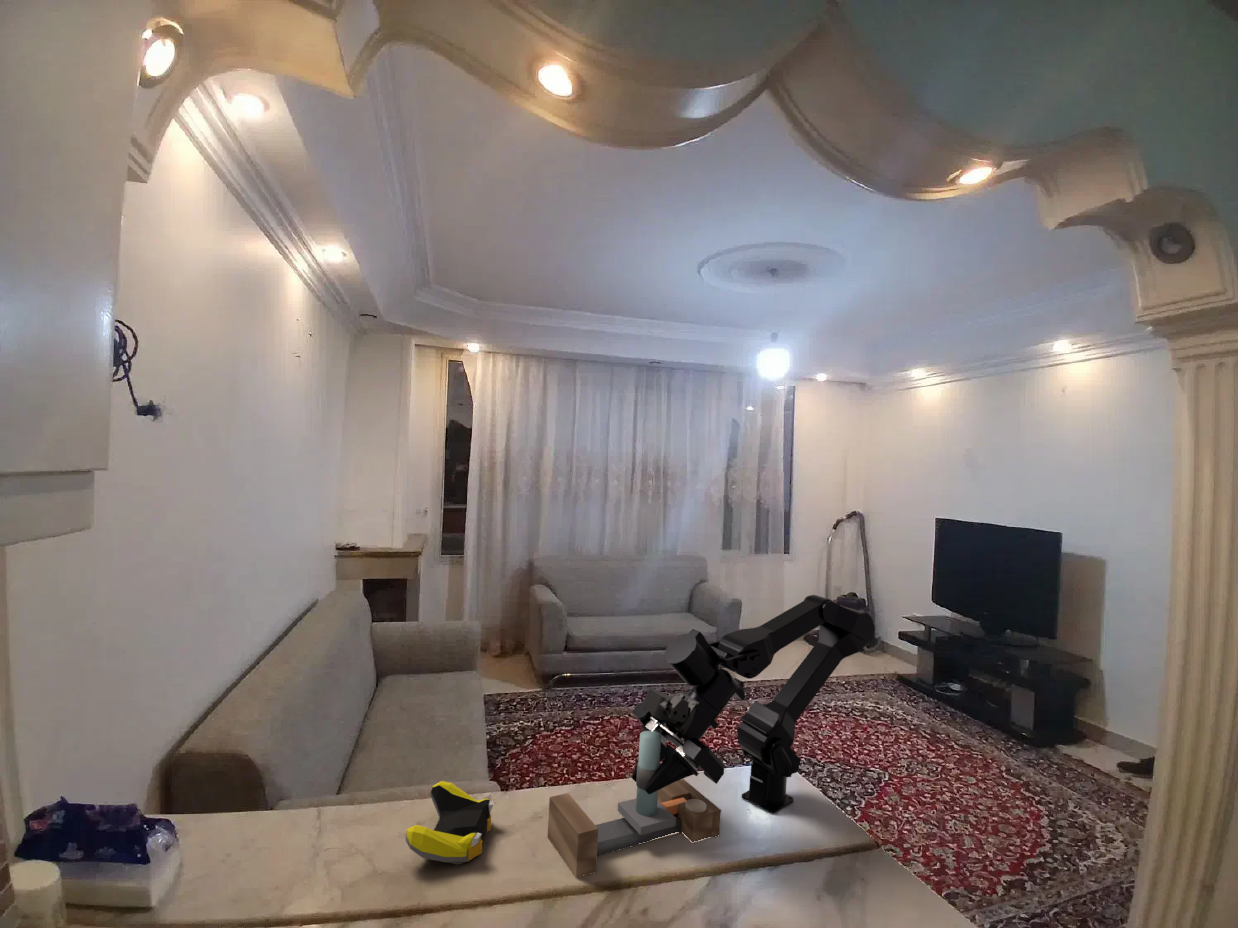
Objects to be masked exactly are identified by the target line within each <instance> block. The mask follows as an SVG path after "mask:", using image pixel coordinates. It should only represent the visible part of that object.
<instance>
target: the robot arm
mask: <svg viewBox="0 0 1238 928" xmlns="http://www.w3.org/2000/svg"><path fill="white" fill-rule="evenodd" d="M817 628H819V629H818V630H819V631H818V641H817V642H816V643H815V644H814V646H813V647H812V648H811V649H810V651H809V653H808V654H807V655H806V656H805V658H804V659H803V660H802V661H801V663H800V664H799V665H798V667H797V668H796V669H795V670H794V672H793V673H792V674H791V676H790V677H789V678H788V680H786V682H785V684H784V685H783V686H782V687H781V689H780V690H779V691H778V693H776V695H775V697H773V699H772V700H771V701H770V702H768V703H765V704H762V703H760V702H759V701H754V702H753V703H752V704H751V706H750V707H749V709H748V711H747V712H746V713H745V714H743V716H741V717H740V720H741V721H740V723H739V724H738V727H737V729H736V732H737V737H736V738H737V743H738V745H739V747H740V748H741V752H742V755H743V756H744V757H746V758H748V759H750V760H751V761H752V763H751V764H750V776H749V787H748V788H749V789H748V790H747V791H745V792H743V793H742V794H741V799H743V800H744V801H747V802H749V803H751V804H752V805H755V806H756V807H759V808H761V809H763V810H764V811H766V812H768V813H770V814H776V813H777V812H779V811H781V810H782V809H784V808H786V807H787V806H789V805H790V804H792V803H794V799H795V798H794V797H792V796H790V795H788V794H787V779H788V778H792V775H793V774H796V773H798V771H799V767H800V765H801V758H800V757H799V756H798V755H797V754H796V752H795V751H794V750H793V749H792V748H791V747H792V745H793V743H794V742H795V735H796V734H795V733H796V731H795V730H796V723H797V721H798V719H799V718H800V717H801V716H802V714H803V713H804V712H805V710H806V709H807V708H808V707H809V705H810V704H811V703H812V701H813V699H815V696H816V695H817V694H818V693H819V691H820V690H821V689H822V688H823V686H824V685H825V683H826V682H827V680H828V679H829V678H830V677H831V675H832V674H833V673H834V671H835V670H836V669H837V667H838V666H839V665H840V663H841V662H842V660H844V659H846V658H847V657H851V656H853V655H855V654H858V653H859V652H861V651H862V650H863V649H864V648H865V647H866V645H868V643H870V641H871V640H872V639H873V637H874V635H875V631H876V627H875V624H874V620H873V617H872V616H871V615H870V614H869V613H867V612H864V611H860V610H858V609H854V608H850V607H846V606H843V605H840V604H838V603H837V602H834V601H833V600H832V599H830V598H827V597H823V596H821V595H820V596H819V595H816V594H811V595H807V596H806V597H805V598H804V599H803V601H801V602H799V603H797V604H796V605H794V606H792V607H791V608H789V609H787V610H786V611H784V612H781V613H780V614H778V615H777V616H775V617H773V618H772V619H770V620H768V621H767V622H764V623H763V624H760V625H759V626H756V627H750V628H741V629H738V630H737V629H736V630H734V631H733V632H729V633H726V634H724V635H723V636H722V637H721V638H720V639H718V640H715V641H713V642H708V641H707V639H706V637H705V636H704V634H703V633H702V632H701V631H699V630H697V629H694V628H692V629H691V630H690V631H689V632H688V633H685V634H682V635H679V636H677V637H676V638H675V639H672V640H671V641H670V642H669V643H668V645H667V646H666V648H665V652H664V659H665V661H666V662H667V663H668V664H669V665H670V666H671V667H672V668H673V670H674V671H675V672H676V673H677V675H679V677H680V678H681V679H682V680H683V681H684V682H685V683H686V685H688V686H692V687H690V690H688V692H687V693H684V692H683V691H680V692H678V693H677V694H676V695H674V696H671V695H668V694H667V693H663V692H661V691H659V690H656V689H653V688H651V687H650V688H649V689H648V691H647V693H646V696H645V698H644V701H643V702H639V703H637V704H636V706H635V707H634V708H633V709H632V711H631V714H632V716H634V717H635V718H636V720H638V722H640V724H641V725H640V729H641V730H642V732H643V731H655V732H657V733H659V734H660V735H661V748H660V766H659V767H658V769H657V770H656V772H655V773H654V775H653V776H652V777H651V779H650V780H649V782H648V784H647V786H646V787H645V791H646V792H647V793H648V794H652V793H654V792H656V791H658V790H660V789H662V788H664V787H666V786H668V785H670V784H672V783H674V782H676V781H678V780H682V779H685V778H689V777H691V776H696V777H697V776H699V774H700V773H699V772H698V769H699V768H700V769H701V770H702V771H703V775H705V777H707V778H708V779H709V780H711V781H712V782H713V783H714V784H716V785H717V784H718V783H719V781H720V780H721V779H722V777H723V776H724V774H725V764H724V762H723V761H722V760H721V759H720V758H719V756H718V755H717V754H715V752H714V751H713V750H712V749H711V748H710V747H709V746H707V745H706V744H704V743H703V742H702V741H701V739H702V738H703V737H704V735H705V734H706V732H707V731H708V730H709V728H711V729H713V730H714V731H716V729H717V728H718V727H719V725H720V724H719V723H718V722H717V721H716V719H717V718H718V716H720V714H721V713H722V711H723V710H724V709H725V707H726V706H727V704H728V703H729V702H730V700H731V699H733V697H736V698H737V699H740V700H741V701H744V700H745V699H746V693H745V688H744V685H745V682H744V681H742V680H741V679H738V678H737V677H733V676H732V674H731V673H730V672H729V671H731V672H733V673H735V674H737V675H739V676H741V677H742V678H745V679H748V680H750V679H753V678H754V679H755V678H756V677H757V676H759V675H760V674H761V673H762V672H763V671H764V670H766V668H768V667H769V666H770V665H771V663H772V662H773V659H774V656H775V655H776V654H777V653H778V652H779V651H780V650H782V649H785V647H786V646H789V645H790V644H792V643H793V642H796V641H797V640H798V639H801V637H803V636H805V635H807V634H808V633H810V632H812V631H814V629H817ZM719 666H721V667H723V668H724V669H723V668H719ZM726 669H727V670H726ZM728 670H729V671H728ZM668 742H670V743H671V744H672V745H674V746H675V747H676V748H674V747H673V746H671V745H670V744H669V743H668ZM638 761H639V757H638V758H637V761H636V764H635V767H634V769H633V772H632V774H631V779H632V781H634V782H635V783H636V779H637V763H638Z"/></svg>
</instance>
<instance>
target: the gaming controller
mask: <svg viewBox="0 0 1238 928" xmlns="http://www.w3.org/2000/svg"><path fill="white" fill-rule="evenodd" d="M430 798H431V801H432V803H433V805H434V808H435V810H436V813H437V816H438V822H437V824H436V825H435V827H434V829H431V828H429V827H425V826H423V825H419V824H415V825H413V826H410V827H408V828H407V829H406V831H405V843H406V844H407V846H408V848H409V849H410V850H411V851H413V852H414V853H416V854H417V855H418V856H420V857H421V858H422V859H425V860H432V861H438V862H442V863H450V864H453V865H461V864H464V863H465V862H470V861H471V860H473V859H475V858H476V857H477V856H480V855H481V854H482V853H483V843H484V841H485V838H486V836H487V833H488V832H489V831H490V830H491V828H492V827H491V826H492V815H491V812H492V810H493V806H494V803H495V802H494V801H493V800H490V799H489V798H482V799H479V800H478V799H475V797H472V796H471V795H470V794H468V793H467V792H465V791H464V790H462V789H461V788H459V786H456V785H455V784H454V783H452V782H449V781H445V780H440V781H439V782H438V783H436V784H435V783H434V784H433V785H432V787H431V790H430Z"/></svg>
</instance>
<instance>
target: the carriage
mask: <svg viewBox="0 0 1238 928" xmlns="http://www.w3.org/2000/svg"><path fill="white" fill-rule="evenodd" d="M638 746H639V747H638V758H639V761H638V763H637V762H636V763H637V779H636V782H635V783H636V797H635V798H633V799H632V798H631V799H628V800H623V801H620V802H618V803H617V812H618V813H619V814H620V815H621V816H622V818H625V819H626V820H627V821H628V822H629V823H630V824H631V826H632V827H633V828H634V829H635V830H636V831H637V832H638V833H639V834H640V835H644V834H647V833H651V832H655V831H658V830H662V829H666V828H669V827H673V826H675V823H676V818H675V817H674V816H673V815H672V814H671V813H670V812H669V811H668V810H667V809H666V808H665V807H664V806H663V805H662V804H660V803H659V802H658V791H656V792H654V793H652V794H648V793H647V792H646V791H645V787H646V786H647V784H648V782H649V780H650V779H651V777H652V776H653V775H654V773H655V772H656V770H657V769H658V767H659V766H660V764H661V762H660V748H661V735H660V734H659V733H657V732H655V731H643V730H642V732H640V733H639V745H638Z"/></svg>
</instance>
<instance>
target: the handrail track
mask: <svg viewBox="0 0 1238 928" xmlns="http://www.w3.org/2000/svg"><path fill="white" fill-rule="evenodd" d="M673 816H674V817H675V818H676V823H675V826H673V827H669V828H666V829H662V830H658V831H655V832H651V833H647V834H644V835H640V834H639V833H638V832H637V831H636V830H635V829H634V828H633V827H632V826H631V824H630V823H629V822H628V821H627V820H626V819H625V818H624V817H621V818H618V819H614V820H610V821H606V822H601V823H598V824H595V825H596V827H597V828H598V844H597V857H601V856H604V855H607V854H606V853H608V854H610V853H609V852H611V853H613V852H612V851H615V852H618V851H617V850H619V849H622V850H624V849H623V848H626V849H628V848H627V847H629V848H631V847H630V846H633V847H636V846H639V845H638V844H639V843H643V842H647V841H650V840H652V839H655V838H658V837H662V836H665V835H668V834H671V833H675V832H681V823H682V820H681V819H680V818H679V817H678V813H677V814H673ZM650 842H651V841H650ZM647 843H648V842H647ZM643 844H644V843H643ZM635 845H636V846H635ZM619 851H620V850H619Z"/></svg>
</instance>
